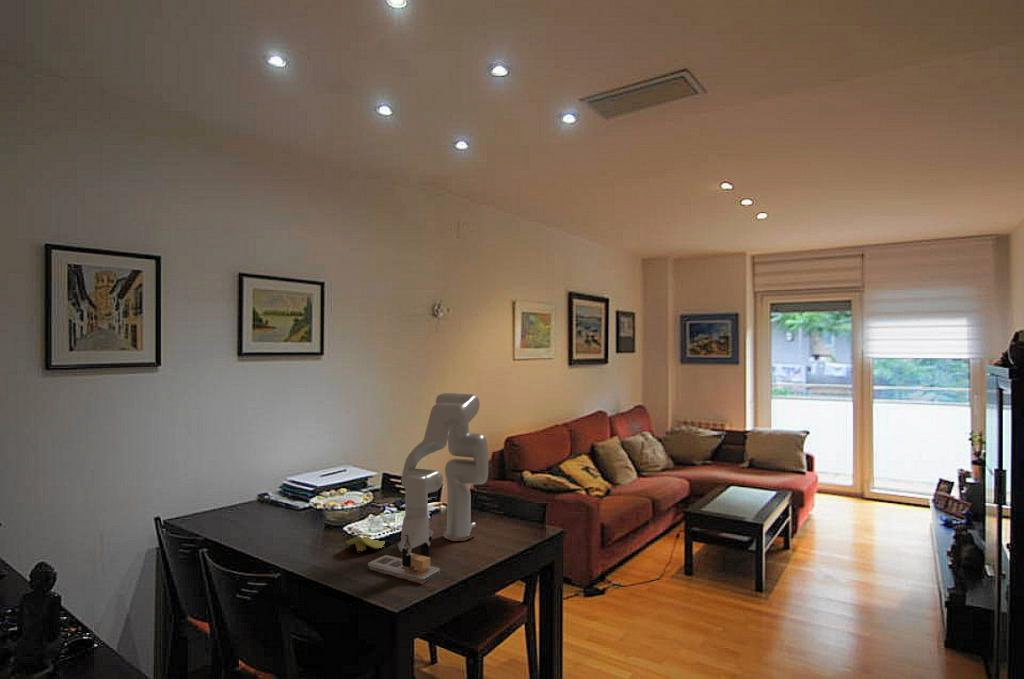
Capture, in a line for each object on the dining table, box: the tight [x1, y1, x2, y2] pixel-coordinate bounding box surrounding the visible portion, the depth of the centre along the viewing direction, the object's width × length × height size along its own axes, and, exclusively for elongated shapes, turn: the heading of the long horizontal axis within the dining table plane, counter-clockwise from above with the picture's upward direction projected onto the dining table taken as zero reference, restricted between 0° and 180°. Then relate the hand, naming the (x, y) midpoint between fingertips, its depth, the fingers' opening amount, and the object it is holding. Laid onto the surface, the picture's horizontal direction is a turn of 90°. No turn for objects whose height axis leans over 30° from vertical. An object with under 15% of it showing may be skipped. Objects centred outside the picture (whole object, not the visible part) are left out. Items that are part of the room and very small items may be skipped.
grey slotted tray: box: [367, 554, 440, 579], centre depth 207 cm, size 9×24×2 cm, turn 60°
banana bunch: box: [345, 525, 392, 552], centre depth 231 cm, size 20×7×10 cm
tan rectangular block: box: [405, 552, 431, 574], centre depth 204 cm, size 4×9×6 cm, turn 59°
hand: (415, 561), depth 204 cm, fingers open, 9 cm apart
